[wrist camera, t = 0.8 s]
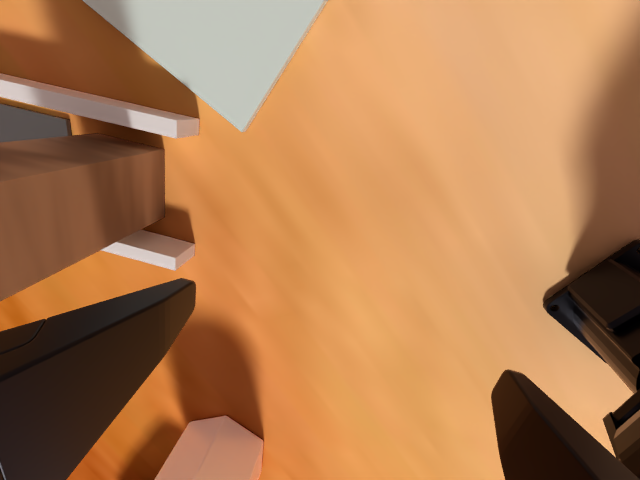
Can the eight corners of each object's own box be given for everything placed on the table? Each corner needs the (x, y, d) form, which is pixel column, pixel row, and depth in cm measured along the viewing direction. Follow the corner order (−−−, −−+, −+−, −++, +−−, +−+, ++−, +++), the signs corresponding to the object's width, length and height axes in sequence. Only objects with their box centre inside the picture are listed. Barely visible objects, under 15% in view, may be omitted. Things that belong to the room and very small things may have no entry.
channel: (199, 118, 21) (176, 120, 18) (194, 255, 25) (175, 270, 22) (-20, 68, 22) (-67, 64, 20) (10, 205, 26) (-26, 215, 24)
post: (164, 149, 22) (-73, 196, 10) (164, 217, 24) (-34, 318, 12) (97, 133, 22) (-201, 161, 11) (103, 201, 24) (-142, 285, 13)
